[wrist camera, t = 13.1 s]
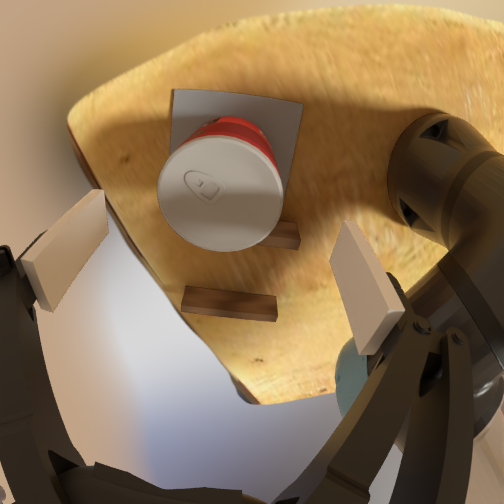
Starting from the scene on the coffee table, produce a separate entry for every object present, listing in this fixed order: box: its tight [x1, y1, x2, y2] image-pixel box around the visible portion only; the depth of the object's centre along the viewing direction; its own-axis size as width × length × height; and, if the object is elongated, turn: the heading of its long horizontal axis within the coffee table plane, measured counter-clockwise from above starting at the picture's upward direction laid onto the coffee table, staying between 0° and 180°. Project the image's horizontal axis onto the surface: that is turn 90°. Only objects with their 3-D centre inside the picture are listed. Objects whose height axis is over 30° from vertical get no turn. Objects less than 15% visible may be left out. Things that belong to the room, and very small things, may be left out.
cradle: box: [181, 221, 301, 322], centre depth 32 cm, size 12×12×4 cm
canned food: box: [157, 116, 283, 252], centre depth 21 cm, size 8×8×11 cm
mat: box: [170, 89, 304, 201], centre depth 25 cm, size 12×12×1 cm
